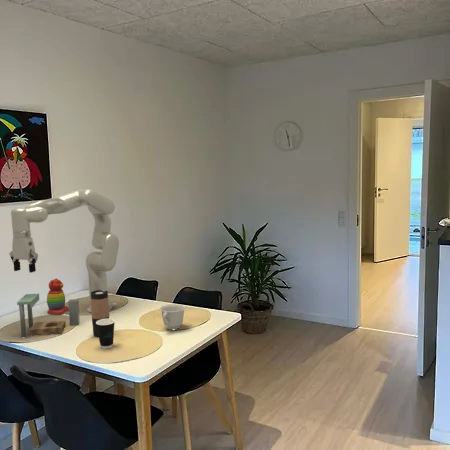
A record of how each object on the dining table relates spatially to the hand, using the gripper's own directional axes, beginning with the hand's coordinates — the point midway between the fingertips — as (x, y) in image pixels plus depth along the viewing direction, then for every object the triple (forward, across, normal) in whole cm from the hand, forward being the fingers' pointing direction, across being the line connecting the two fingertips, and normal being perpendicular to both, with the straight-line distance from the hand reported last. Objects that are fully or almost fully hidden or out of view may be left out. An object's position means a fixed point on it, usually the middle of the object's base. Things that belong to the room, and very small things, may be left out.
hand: (24, 271), depth 218 cm
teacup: (+29, -62, -26) cm, 74 cm away
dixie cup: (+29, -48, +2) cm, 56 cm away
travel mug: (+29, -36, -8) cm, 47 cm away
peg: (+29, -14, -15) cm, 35 cm away
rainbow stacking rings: (+29, +10, -27) cm, 41 cm away
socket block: (+29, -9, -3) cm, 30 cm away
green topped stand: (+29, -3, +1) cm, 29 cm away
